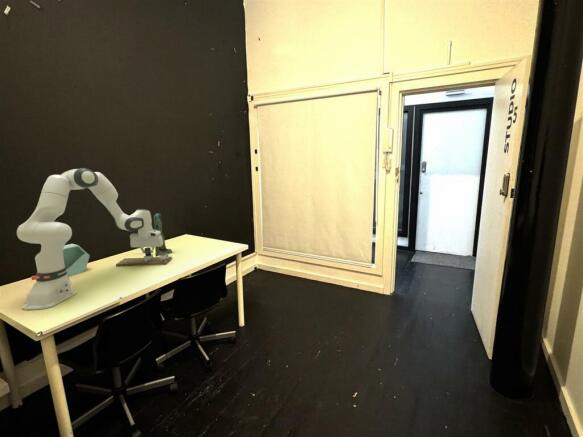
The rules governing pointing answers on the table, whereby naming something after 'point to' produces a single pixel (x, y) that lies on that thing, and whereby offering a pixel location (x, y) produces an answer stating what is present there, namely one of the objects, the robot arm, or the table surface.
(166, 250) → the statue
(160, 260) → the plate
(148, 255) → the divider leg
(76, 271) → the planter
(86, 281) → the table surface
